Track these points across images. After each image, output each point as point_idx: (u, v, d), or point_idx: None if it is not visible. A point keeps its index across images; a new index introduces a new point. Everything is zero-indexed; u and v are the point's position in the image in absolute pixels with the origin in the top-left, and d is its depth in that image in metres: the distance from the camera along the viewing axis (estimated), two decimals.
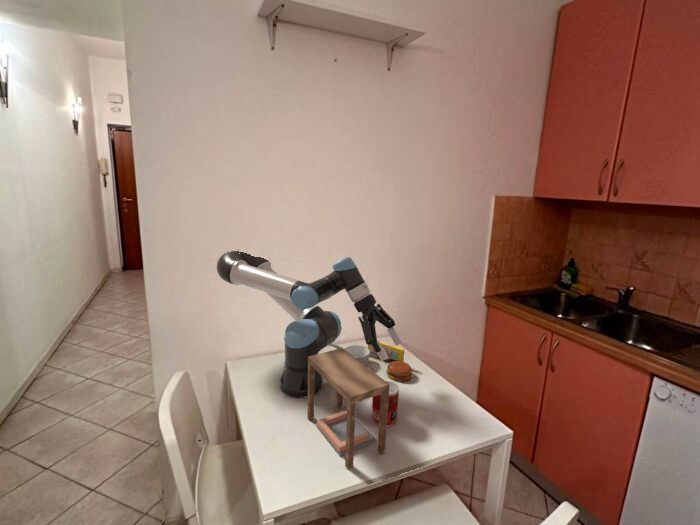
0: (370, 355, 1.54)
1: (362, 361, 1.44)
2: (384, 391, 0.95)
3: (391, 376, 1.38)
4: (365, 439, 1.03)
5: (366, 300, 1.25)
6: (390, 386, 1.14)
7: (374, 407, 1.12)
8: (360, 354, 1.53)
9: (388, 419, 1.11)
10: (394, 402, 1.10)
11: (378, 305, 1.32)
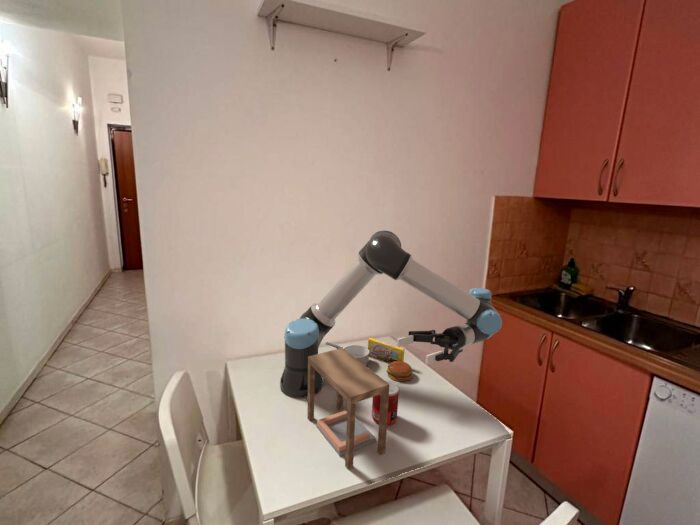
0: (370, 355, 1.54)
1: (362, 361, 1.44)
2: (384, 391, 0.95)
3: (391, 376, 1.38)
4: (365, 439, 1.03)
5: None
6: (390, 386, 1.14)
7: (374, 407, 1.12)
8: (360, 354, 1.53)
9: (388, 419, 1.11)
10: (394, 402, 1.10)
11: (434, 337, 1.29)
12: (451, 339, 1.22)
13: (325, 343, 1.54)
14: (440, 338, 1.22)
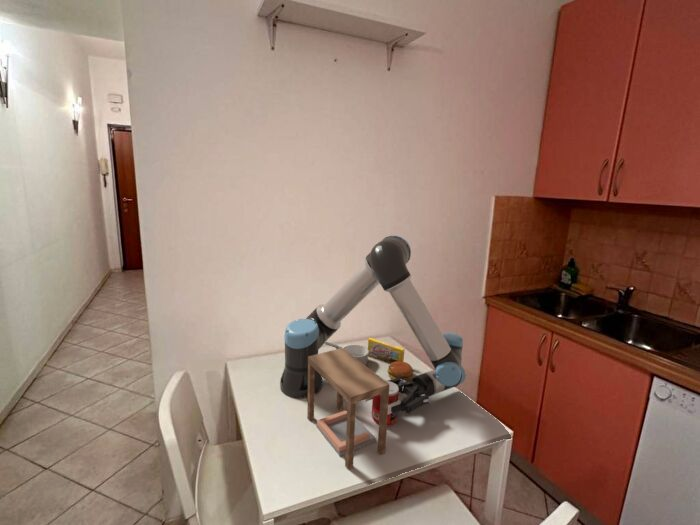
0: (370, 355, 1.54)
1: (361, 361, 1.44)
2: (384, 391, 0.95)
3: (392, 376, 1.38)
4: (365, 439, 1.03)
5: (429, 396, 1.21)
6: (390, 386, 1.14)
7: (374, 407, 1.12)
8: (359, 354, 1.54)
9: (388, 419, 1.11)
10: None
11: None
12: (420, 388, 1.18)
13: None
14: (408, 387, 1.19)
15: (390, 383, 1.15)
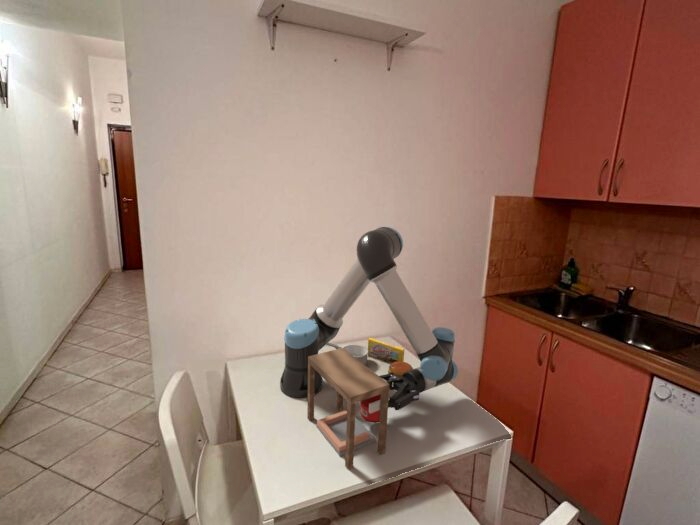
0: (370, 355, 1.54)
1: (360, 361, 1.44)
2: (384, 391, 0.95)
3: None
4: (365, 439, 1.03)
5: (420, 392, 1.17)
6: None
7: (362, 403, 1.08)
8: (358, 354, 1.54)
9: (376, 416, 1.07)
10: None
11: None
12: (410, 384, 1.14)
13: None
14: (398, 383, 1.15)
15: None
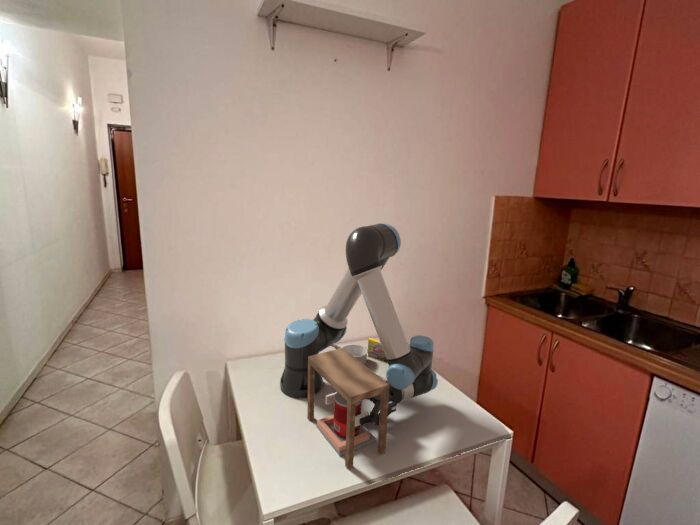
0: (370, 355, 1.54)
1: (360, 360, 1.44)
2: (384, 391, 0.95)
3: None
4: (365, 439, 1.03)
5: (397, 403, 1.13)
6: None
7: (335, 418, 1.05)
8: (358, 353, 1.54)
9: None
10: (356, 413, 1.03)
11: None
12: None
13: None
14: None
15: None
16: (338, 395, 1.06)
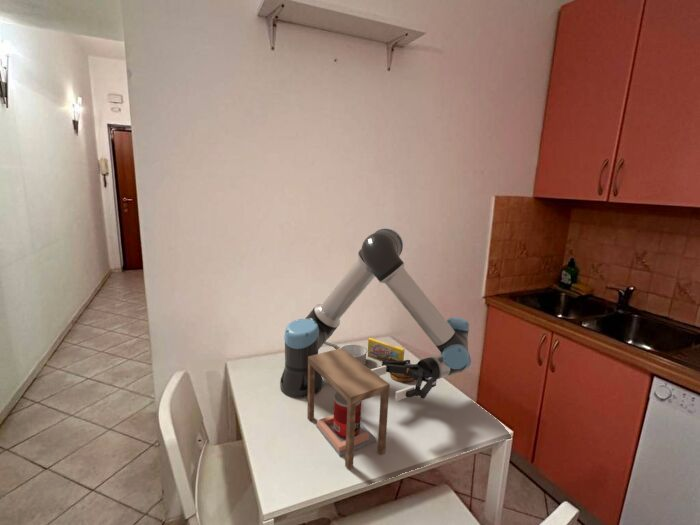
0: (370, 355, 1.54)
1: (359, 360, 1.44)
2: (384, 391, 0.95)
3: (394, 377, 1.38)
4: (365, 439, 1.03)
5: None
6: None
7: (335, 418, 1.05)
8: (357, 353, 1.54)
9: None
10: (356, 413, 1.03)
11: None
12: (425, 372, 1.17)
13: None
14: (414, 370, 1.18)
15: None
16: (338, 395, 1.06)
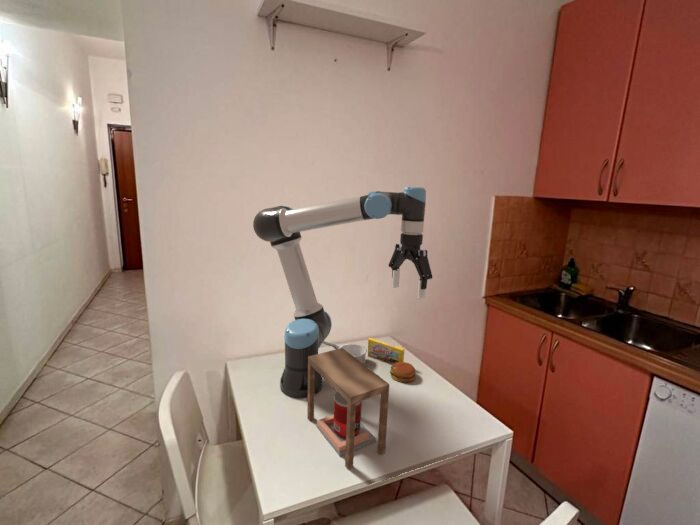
0: (370, 355, 1.54)
1: None
2: (384, 391, 0.95)
3: (394, 377, 1.37)
4: (365, 439, 1.03)
5: (422, 237, 1.24)
6: None
7: (335, 418, 1.05)
8: (357, 353, 1.54)
9: None
10: (356, 413, 1.03)
11: (402, 245, 1.31)
12: (412, 249, 1.24)
13: None
14: (407, 256, 1.26)
15: None
16: (338, 395, 1.06)
